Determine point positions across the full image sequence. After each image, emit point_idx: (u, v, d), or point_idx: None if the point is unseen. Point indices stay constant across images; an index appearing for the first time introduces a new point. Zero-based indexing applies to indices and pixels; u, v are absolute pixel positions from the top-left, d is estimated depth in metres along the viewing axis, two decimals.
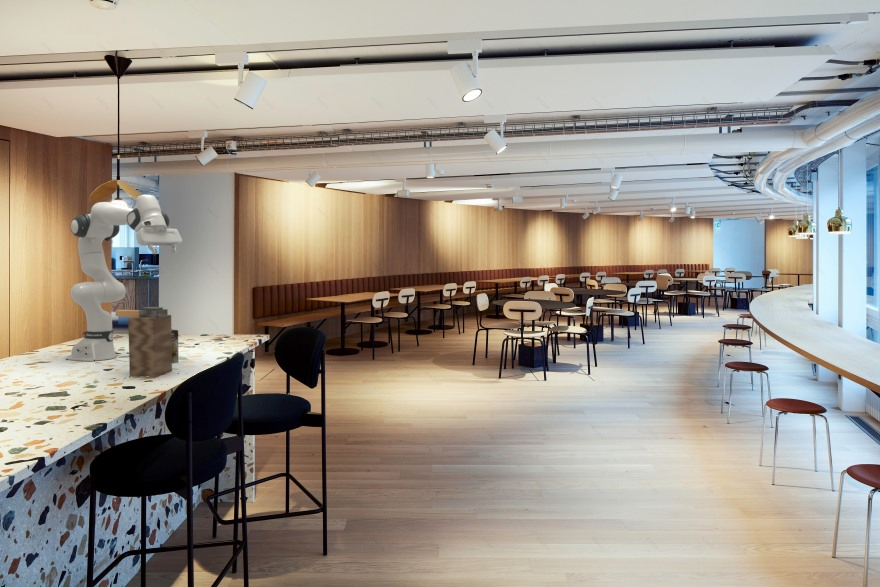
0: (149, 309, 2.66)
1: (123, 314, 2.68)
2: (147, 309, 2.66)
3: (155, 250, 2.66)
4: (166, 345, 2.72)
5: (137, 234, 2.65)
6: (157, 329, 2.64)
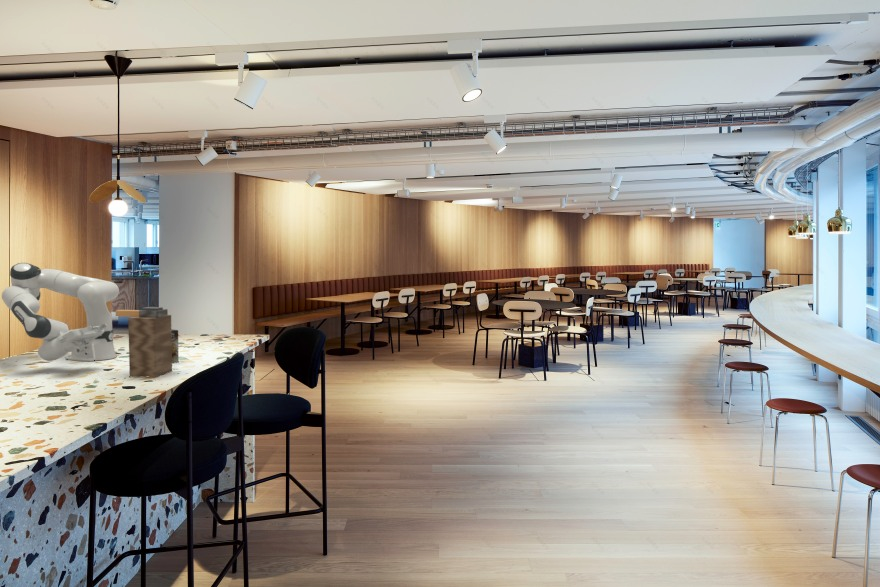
0: (149, 309, 2.66)
1: (123, 314, 2.68)
2: (147, 309, 2.66)
3: (104, 327, 2.75)
4: (166, 345, 2.72)
5: None
6: (157, 329, 2.64)
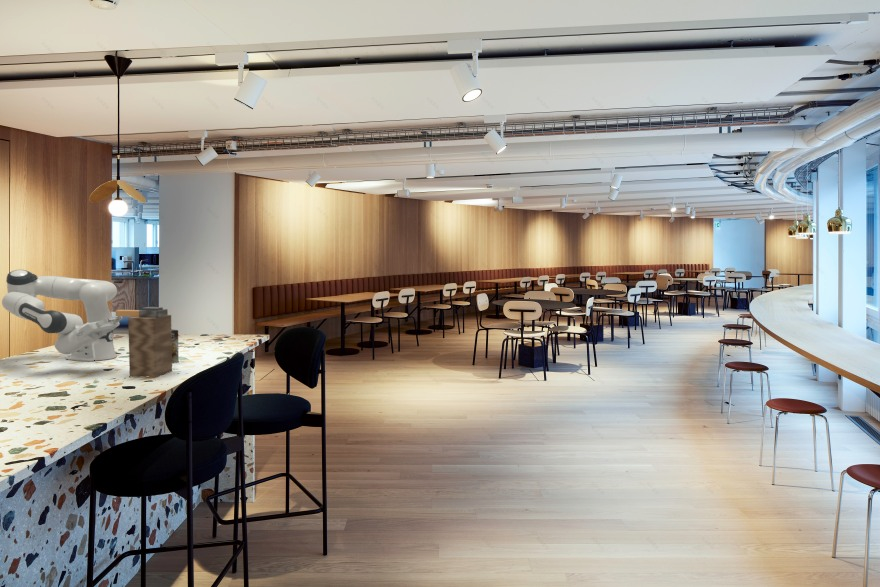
0: (149, 309, 2.66)
1: (123, 314, 2.68)
2: (147, 309, 2.66)
3: None
4: (166, 345, 2.72)
5: None
6: (157, 329, 2.64)
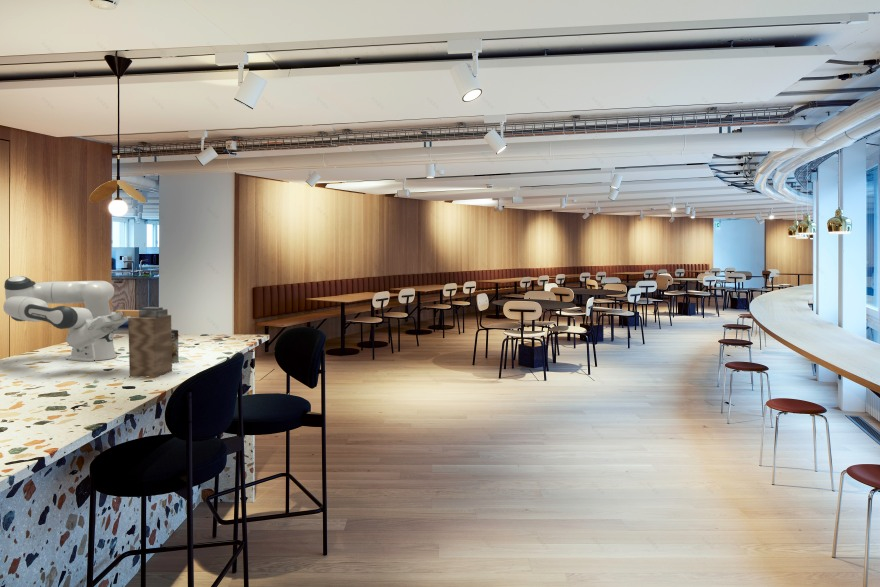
0: (149, 309, 2.66)
1: None
2: (147, 309, 2.66)
3: None
4: (166, 345, 2.72)
5: None
6: (157, 329, 2.64)
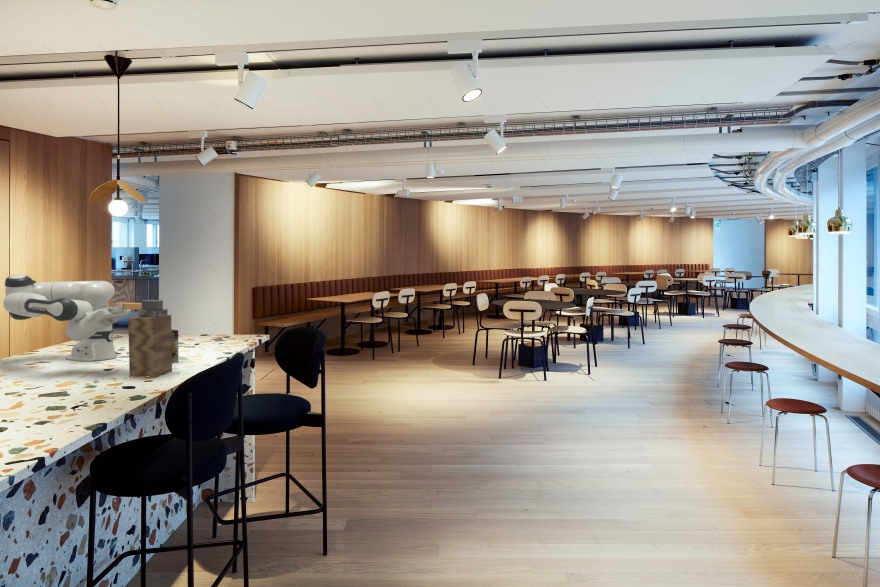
0: (149, 302, 2.66)
1: None
2: (147, 302, 2.66)
3: None
4: (166, 345, 2.72)
5: None
6: (157, 329, 2.64)
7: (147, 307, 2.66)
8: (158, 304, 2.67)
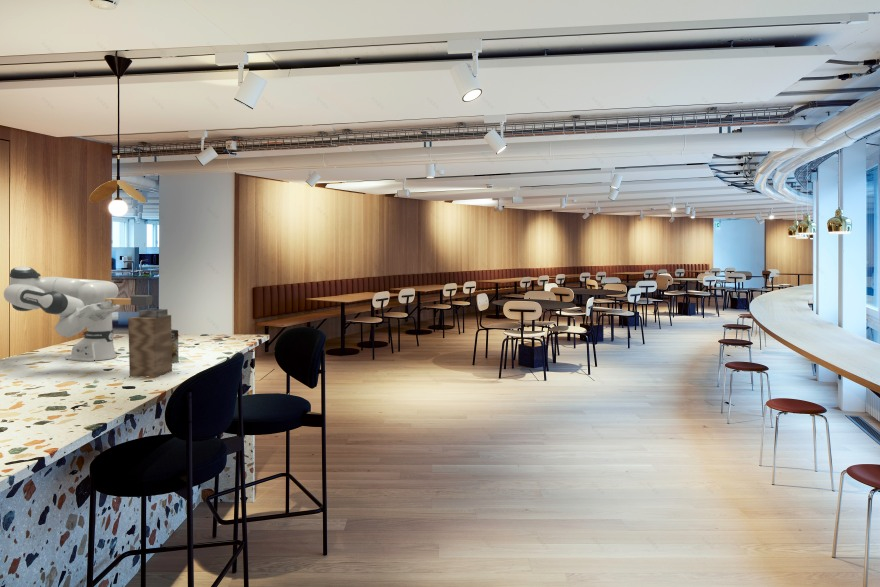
0: (138, 297, 2.67)
1: None
2: (136, 297, 2.67)
3: None
4: (166, 345, 2.72)
5: None
6: (157, 329, 2.64)
7: (136, 302, 2.67)
8: (147, 300, 2.68)
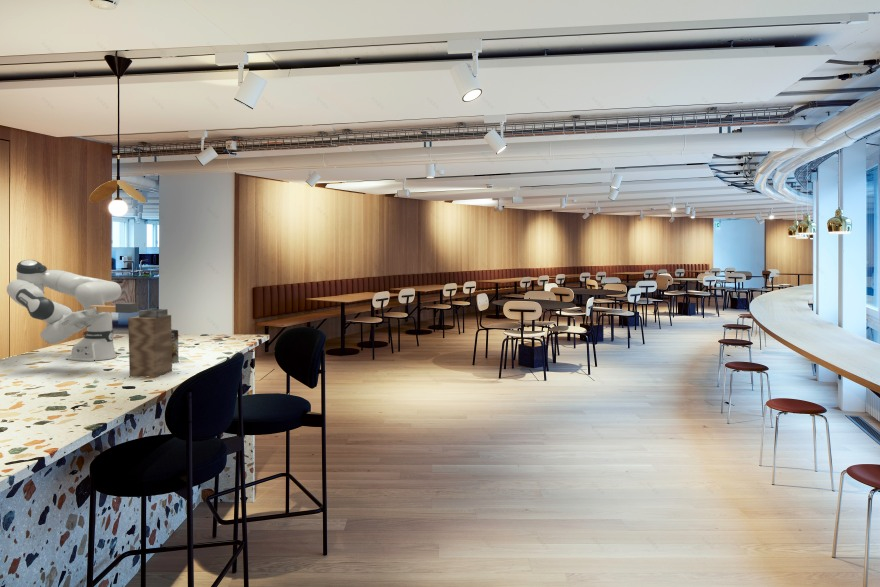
0: (123, 305, 2.67)
1: None
2: (121, 305, 2.67)
3: None
4: (166, 345, 2.72)
5: None
6: (157, 329, 2.64)
7: (120, 310, 2.67)
8: (132, 307, 2.68)
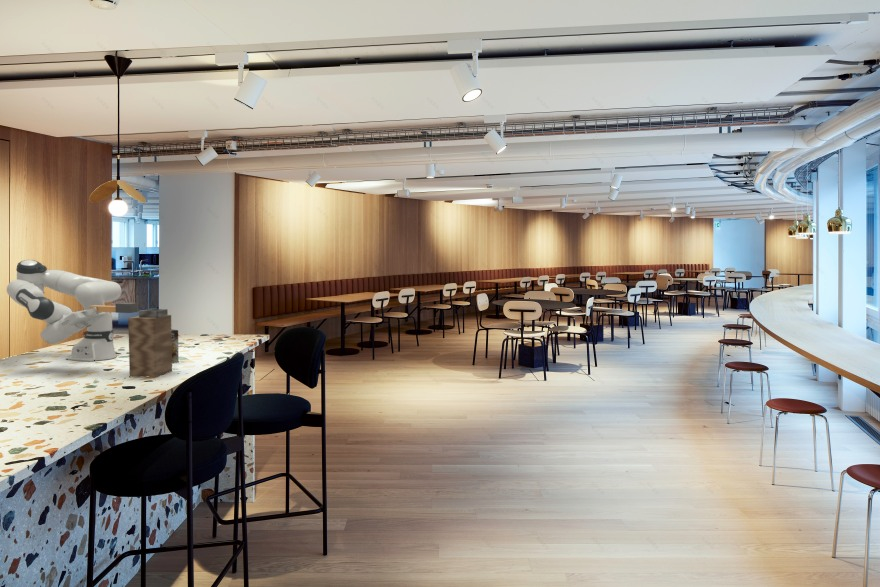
0: (123, 305, 2.67)
1: None
2: (121, 305, 2.67)
3: None
4: (166, 345, 2.72)
5: None
6: (157, 329, 2.64)
7: (120, 310, 2.67)
8: (132, 307, 2.68)
